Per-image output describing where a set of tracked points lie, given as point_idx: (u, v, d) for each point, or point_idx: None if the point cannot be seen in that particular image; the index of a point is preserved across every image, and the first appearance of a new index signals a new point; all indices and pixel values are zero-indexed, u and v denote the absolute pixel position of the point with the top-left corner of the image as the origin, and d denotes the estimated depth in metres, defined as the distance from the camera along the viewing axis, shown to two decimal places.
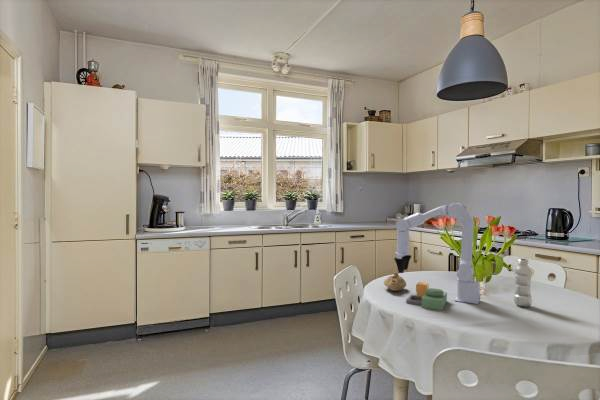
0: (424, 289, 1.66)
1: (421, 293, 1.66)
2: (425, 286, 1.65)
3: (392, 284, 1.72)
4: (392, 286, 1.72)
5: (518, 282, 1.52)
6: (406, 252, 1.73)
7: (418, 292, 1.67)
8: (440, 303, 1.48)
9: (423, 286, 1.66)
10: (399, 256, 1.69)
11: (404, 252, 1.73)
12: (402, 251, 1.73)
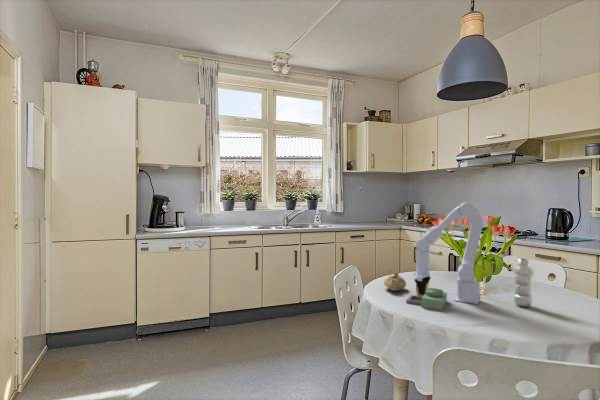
0: None
1: None
2: None
3: (392, 284, 1.72)
4: (392, 286, 1.72)
5: (518, 282, 1.52)
6: (426, 274, 1.65)
7: (418, 292, 1.67)
8: (440, 303, 1.48)
9: None
10: (419, 278, 1.62)
11: (424, 274, 1.65)
12: (422, 272, 1.65)
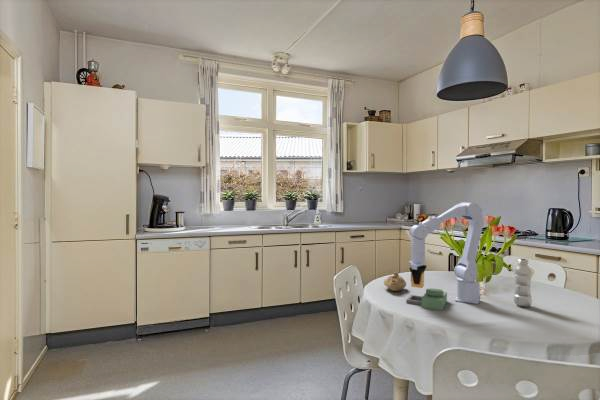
0: None
1: None
2: None
3: (392, 284, 1.72)
4: (392, 286, 1.72)
5: (518, 282, 1.52)
6: (422, 262, 1.57)
7: (413, 282, 1.59)
8: (440, 303, 1.48)
9: None
10: (414, 266, 1.53)
11: (420, 262, 1.57)
12: (417, 261, 1.57)
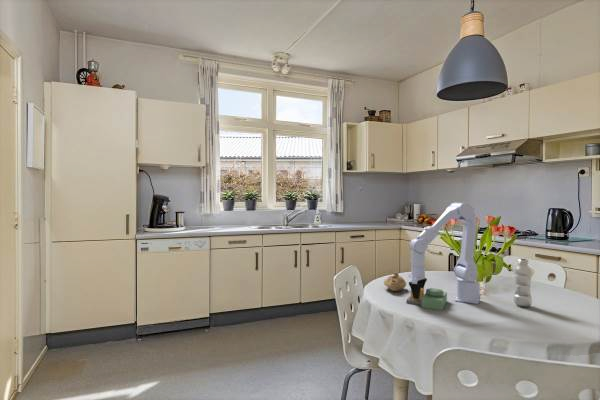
0: None
1: (416, 299, 1.58)
2: (420, 291, 1.57)
3: (392, 284, 1.72)
4: (392, 286, 1.72)
5: (518, 282, 1.52)
6: (422, 276, 1.57)
7: None
8: (440, 303, 1.48)
9: None
10: (414, 281, 1.53)
11: (419, 276, 1.56)
12: (417, 275, 1.57)
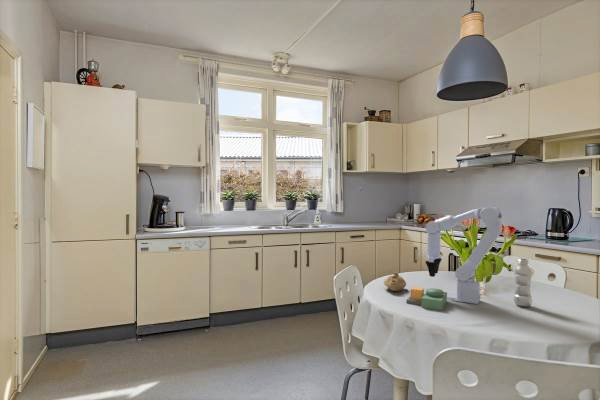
0: (419, 294, 1.57)
1: (416, 299, 1.58)
2: (420, 291, 1.57)
3: (392, 284, 1.72)
4: (392, 286, 1.72)
5: (518, 282, 1.52)
6: (437, 255, 1.68)
7: (413, 297, 1.58)
8: (440, 303, 1.48)
9: (418, 291, 1.57)
10: (431, 259, 1.64)
11: (435, 255, 1.68)
12: (433, 254, 1.68)
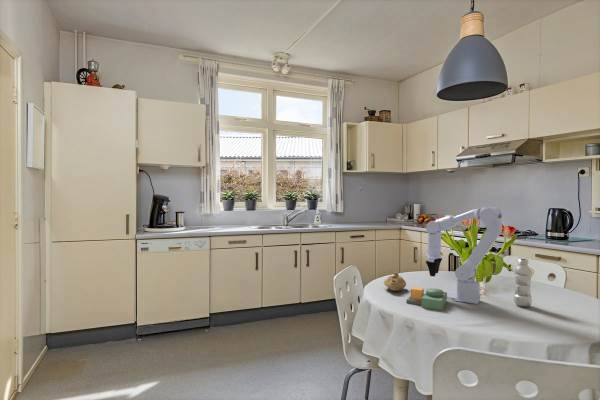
0: (419, 294, 1.57)
1: (416, 299, 1.58)
2: (420, 291, 1.57)
3: (392, 284, 1.72)
4: (392, 286, 1.72)
5: (518, 282, 1.52)
6: (438, 255, 1.68)
7: (413, 297, 1.58)
8: (440, 303, 1.48)
9: (418, 291, 1.57)
10: (431, 259, 1.65)
11: (436, 255, 1.68)
12: (434, 254, 1.68)
